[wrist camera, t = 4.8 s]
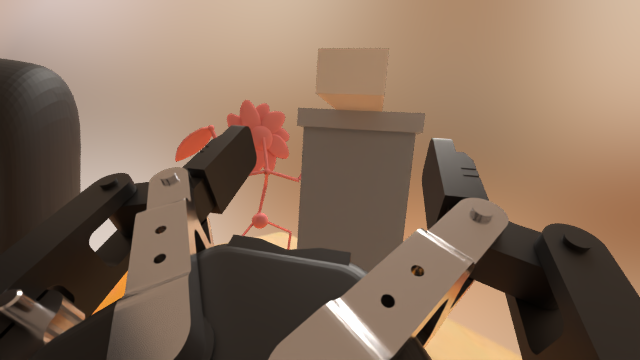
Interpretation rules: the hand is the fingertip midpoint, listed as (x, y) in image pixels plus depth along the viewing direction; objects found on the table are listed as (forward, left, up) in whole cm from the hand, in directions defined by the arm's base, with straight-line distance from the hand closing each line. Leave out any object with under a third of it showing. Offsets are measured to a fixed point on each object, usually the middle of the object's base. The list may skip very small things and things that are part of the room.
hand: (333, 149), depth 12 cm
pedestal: (+12, +14, -29) cm, 34 cm away
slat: (+10, +11, +3) cm, 15 cm away
